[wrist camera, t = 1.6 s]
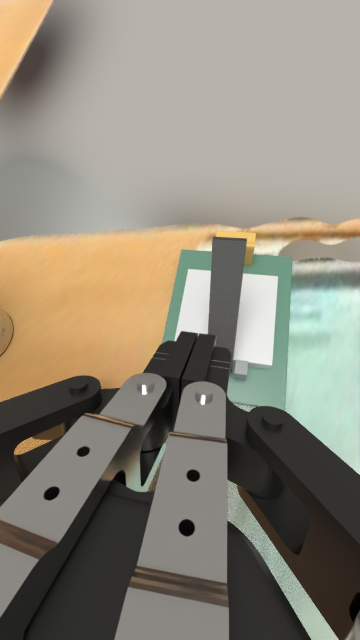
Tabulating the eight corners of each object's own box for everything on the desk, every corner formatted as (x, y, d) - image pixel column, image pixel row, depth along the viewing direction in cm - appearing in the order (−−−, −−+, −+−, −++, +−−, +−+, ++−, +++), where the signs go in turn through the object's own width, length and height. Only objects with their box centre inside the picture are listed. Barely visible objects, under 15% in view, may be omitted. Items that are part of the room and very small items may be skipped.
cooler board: (282, 410, 35) (294, 404, 29) (154, 389, 38) (142, 380, 33) (290, 262, 43) (300, 234, 37) (182, 254, 46) (176, 227, 40)
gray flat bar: (232, 367, 35) (231, 375, 34) (207, 364, 36) (205, 371, 35) (247, 237, 27) (246, 242, 25) (214, 235, 27) (212, 240, 26)
